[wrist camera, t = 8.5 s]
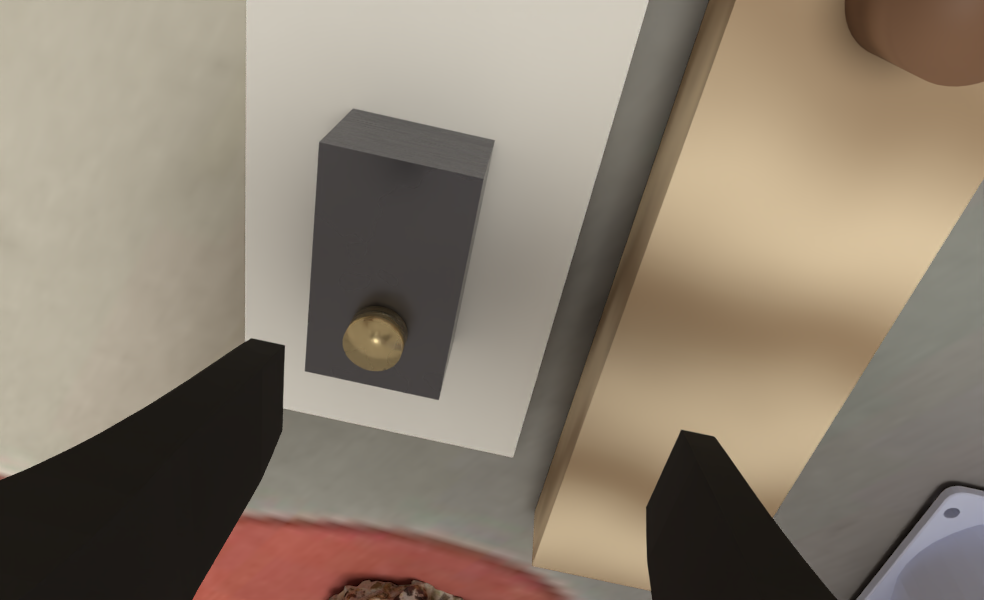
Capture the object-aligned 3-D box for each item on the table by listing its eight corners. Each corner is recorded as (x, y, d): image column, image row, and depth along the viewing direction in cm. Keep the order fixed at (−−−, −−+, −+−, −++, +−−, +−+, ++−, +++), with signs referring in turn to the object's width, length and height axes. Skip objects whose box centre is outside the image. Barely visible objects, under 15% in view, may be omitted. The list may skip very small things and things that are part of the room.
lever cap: (453, 342, 22) (434, 418, 19) (334, 316, 22) (295, 388, 19) (494, 140, 19) (480, 191, 15) (353, 108, 18) (307, 152, 15)
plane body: (706, 548, 27) (733, 672, 22) (534, 512, 27) (528, 630, 22) (1055, -70, 15) (1245, -57, 11) (757, -140, 15) (832, -156, 11)
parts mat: (513, 450, 25) (512, 457, 25) (249, 393, 25) (244, 400, 24) (650, -12, 17) (651, -10, 16) (253, -104, 16) (246, -104, 16)
